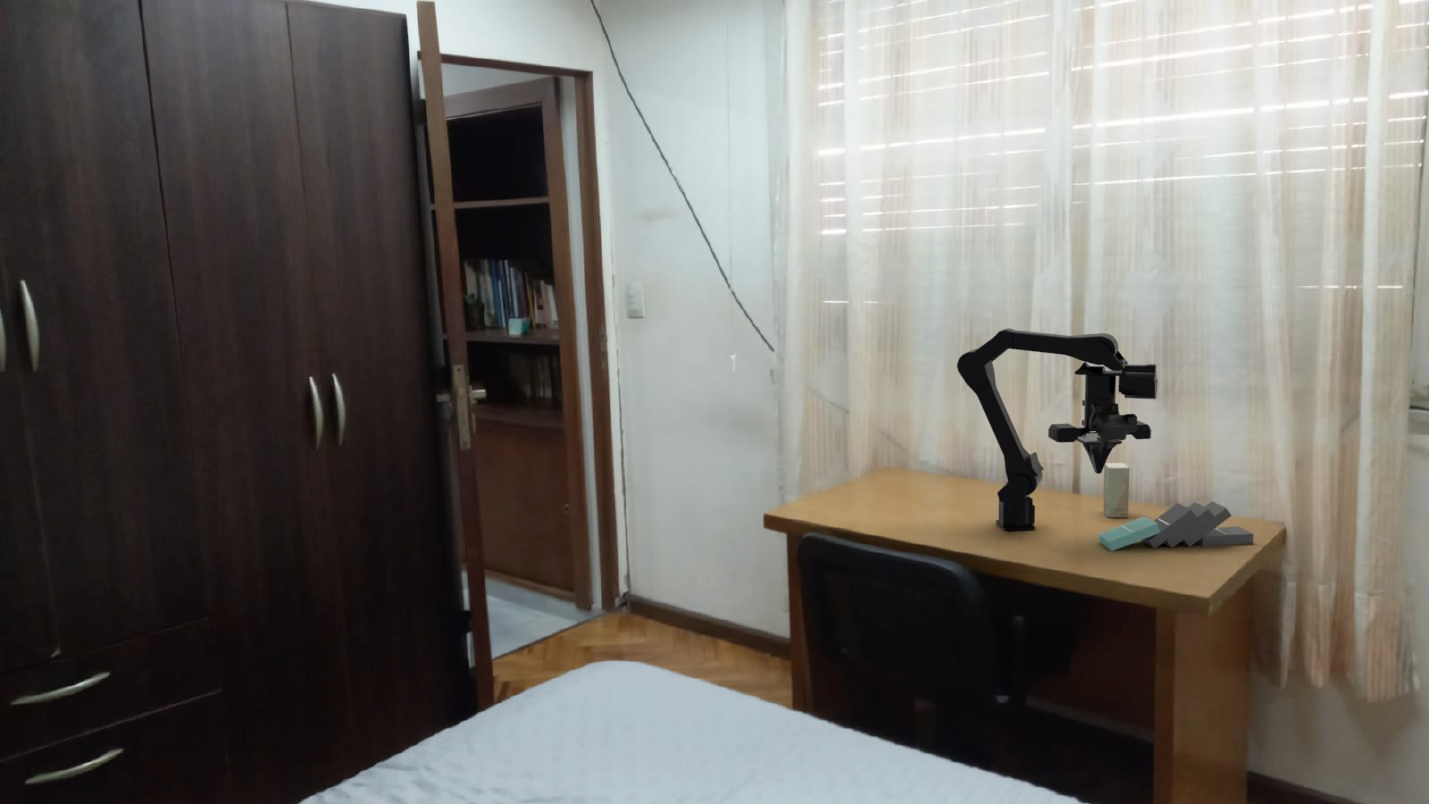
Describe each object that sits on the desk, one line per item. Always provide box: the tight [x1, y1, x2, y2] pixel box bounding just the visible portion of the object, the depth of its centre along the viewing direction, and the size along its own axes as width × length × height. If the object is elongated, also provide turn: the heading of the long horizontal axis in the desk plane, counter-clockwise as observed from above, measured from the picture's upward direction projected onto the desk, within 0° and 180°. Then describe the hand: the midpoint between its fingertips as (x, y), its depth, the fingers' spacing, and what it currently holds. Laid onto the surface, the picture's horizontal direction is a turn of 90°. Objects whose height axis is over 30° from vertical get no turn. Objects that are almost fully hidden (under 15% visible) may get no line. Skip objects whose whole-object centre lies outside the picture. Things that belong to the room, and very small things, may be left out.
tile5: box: [1195, 525, 1254, 547], centre depth 188 cm, size 2×5×10 cm
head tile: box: [1097, 516, 1160, 552], centre depth 187 cm, size 2×5×10 cm
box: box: [1103, 462, 1130, 518], centre depth 208 cm, size 5×4×11 cm
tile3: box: [1162, 501, 1214, 548], centre depth 188 cm, size 2×5×10 cm
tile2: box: [1141, 502, 1197, 550], centre depth 187 cm, size 2×5×10 cm
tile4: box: [1180, 501, 1232, 548], centre depth 188 cm, size 2×5×10 cm
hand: (1098, 473), depth 193 cm, fingers closed
